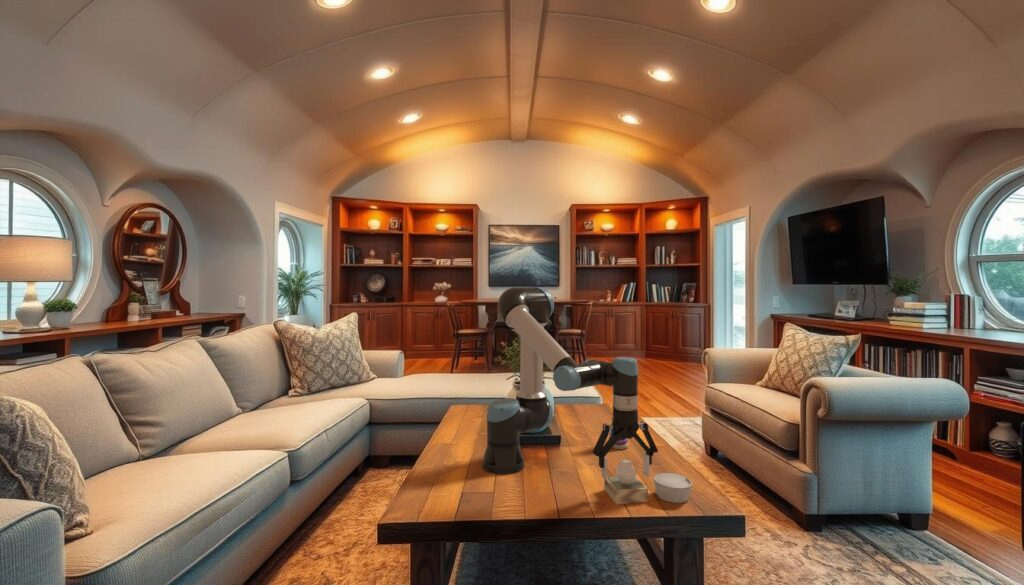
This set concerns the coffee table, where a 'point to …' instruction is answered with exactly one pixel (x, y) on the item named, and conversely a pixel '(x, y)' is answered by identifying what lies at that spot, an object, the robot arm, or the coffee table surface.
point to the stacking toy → (621, 442)
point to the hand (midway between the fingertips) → (625, 476)
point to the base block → (626, 491)
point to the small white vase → (626, 472)
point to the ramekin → (672, 487)
